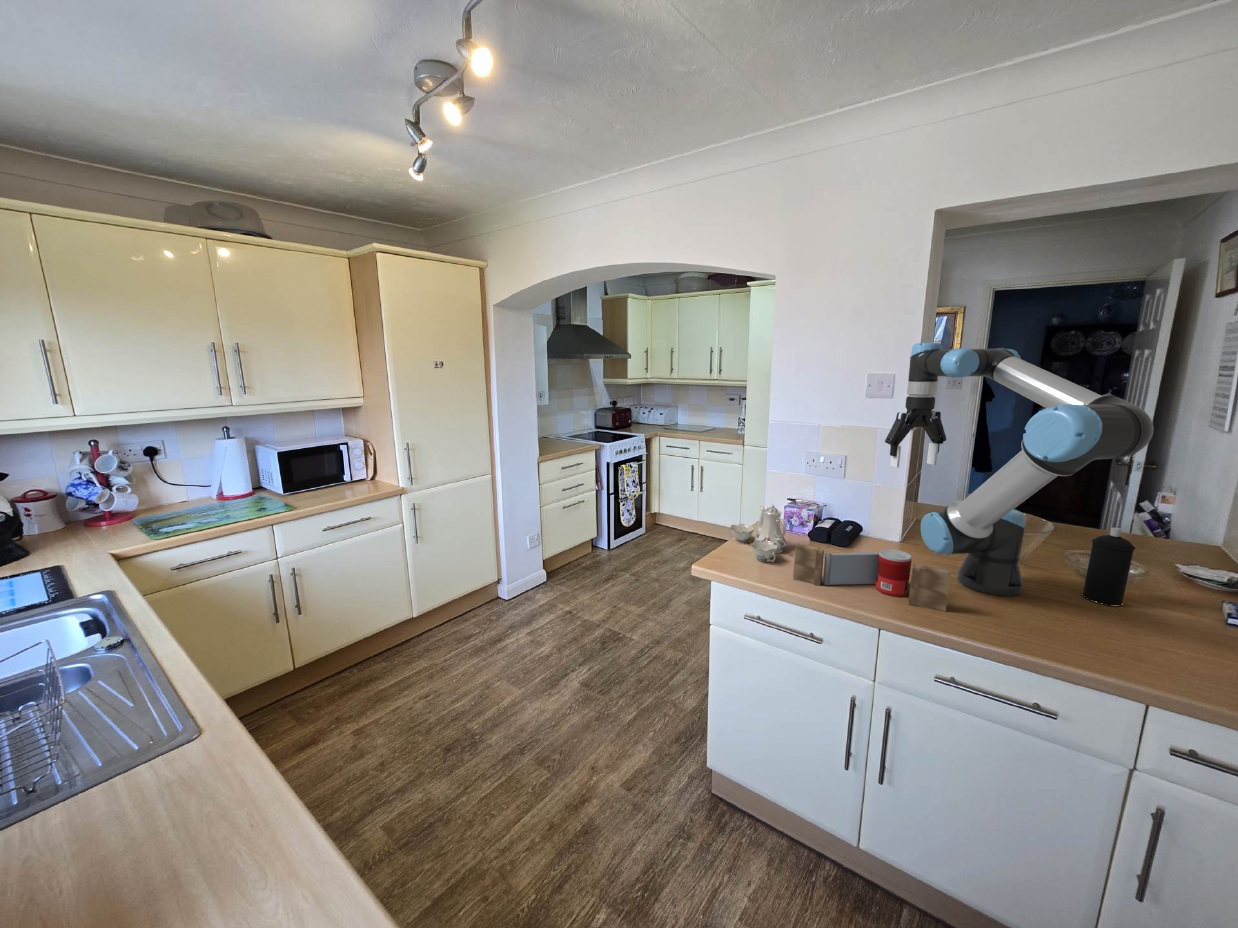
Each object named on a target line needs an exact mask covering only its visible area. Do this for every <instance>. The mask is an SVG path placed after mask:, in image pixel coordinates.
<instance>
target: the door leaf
mask: <svg viewBox="0 0 1238 928" xmlns="http://www.w3.org/2000/svg"><path fill="white" fill-rule="evenodd" d="M878 557H879V552H849V553H848V552H844V553H836V552H835V553H831V552H830V553H828V552H827V553H824V562H823V567H824V568H823V575H822V584H823V585H825V586H829V585H876V577H877V567H878Z"/></svg>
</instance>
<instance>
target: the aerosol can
mask: <svg viewBox="0 0 1238 928" xmlns="http://www.w3.org/2000/svg"><path fill="white" fill-rule="evenodd" d="M1121 534H1122V528H1120V527H1111V528H1110V531H1109V534H1105V535H1099V536H1097V537H1095V538H1093V539H1092V540H1091V542H1092V545H1091V550H1090V556H1089V560H1088V566H1087V570H1086V575H1085V581H1084V587H1083V593H1082V592H1081V595H1082V594H1083V596H1085V598H1088V599H1089V600H1093V601H1097V602H1098V603H1103V604H1107V605H1121V604H1122V603H1123V602H1124V599H1125V598H1124V597H1125V593H1126V588H1127V582H1128V578H1129V573H1130V568H1131V564H1132V559H1133V554H1134V551H1136V547H1135V546H1134V545H1133V543H1132V542H1131V541H1129V540H1127V539H1126V538H1124V537H1122V536H1121ZM1083 596H1082V597H1083ZM1085 598H1084V599H1085ZM1089 600H1088V601H1089ZM1098 603H1097V604H1098ZM1107 605H1106V606H1107Z"/></svg>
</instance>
